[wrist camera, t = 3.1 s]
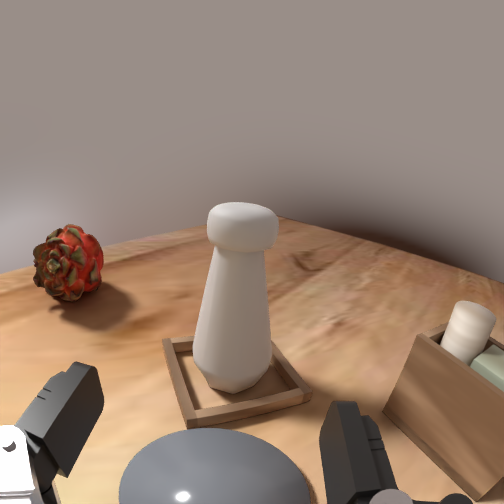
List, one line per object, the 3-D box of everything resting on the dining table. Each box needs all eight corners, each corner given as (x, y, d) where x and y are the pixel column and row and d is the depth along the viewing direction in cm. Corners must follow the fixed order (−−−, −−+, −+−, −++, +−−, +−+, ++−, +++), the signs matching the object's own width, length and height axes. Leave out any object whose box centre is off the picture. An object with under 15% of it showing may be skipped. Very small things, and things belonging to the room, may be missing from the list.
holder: (259, 336, 28) (261, 327, 28) (309, 400, 20) (312, 391, 20) (162, 348, 25) (162, 338, 24) (187, 428, 17) (186, 419, 17)
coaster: (262, 419, 18) (263, 414, 18) (341, 536, 10) (345, 533, 10) (111, 443, 14) (109, 437, 14) (145, 591, 6) (143, 590, 6)
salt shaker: (267, 357, 25) (290, 202, 21) (268, 405, 20) (299, 221, 16) (198, 349, 25) (205, 194, 21) (185, 395, 20) (185, 210, 16)
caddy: (428, 386, 22) (468, 291, 19) (512, 456, 12) (579, 358, 9) (382, 411, 19) (427, 304, 16) (476, 501, 10) (567, 397, 7)
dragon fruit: (70, 336, 26) (69, 297, 36) (128, 280, 29) (113, 256, 39) (12, 274, 22) (29, 250, 32) (73, 213, 25) (74, 207, 34)
